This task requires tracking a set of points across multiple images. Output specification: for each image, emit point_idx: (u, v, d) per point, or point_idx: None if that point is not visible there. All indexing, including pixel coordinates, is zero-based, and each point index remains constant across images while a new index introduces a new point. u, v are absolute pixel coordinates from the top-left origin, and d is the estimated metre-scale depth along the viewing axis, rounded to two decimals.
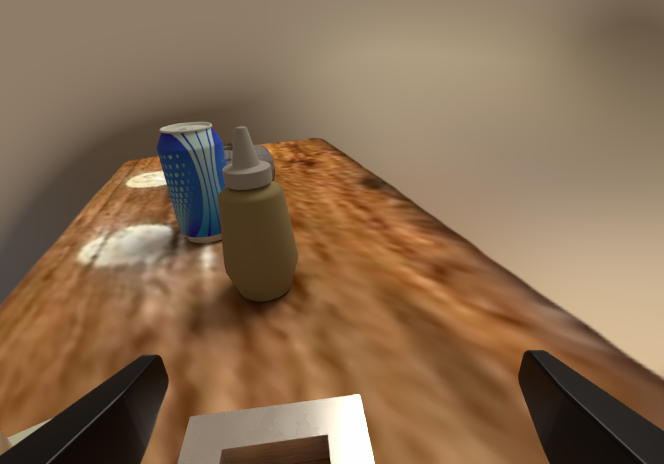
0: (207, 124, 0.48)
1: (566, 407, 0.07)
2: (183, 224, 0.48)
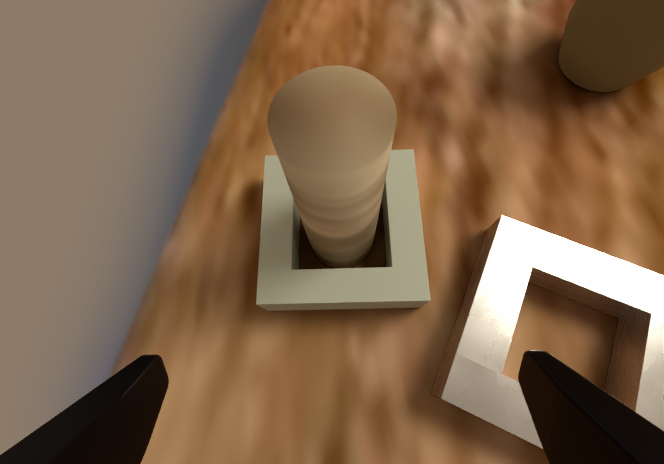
0: None
1: (566, 407, 0.07)
2: None
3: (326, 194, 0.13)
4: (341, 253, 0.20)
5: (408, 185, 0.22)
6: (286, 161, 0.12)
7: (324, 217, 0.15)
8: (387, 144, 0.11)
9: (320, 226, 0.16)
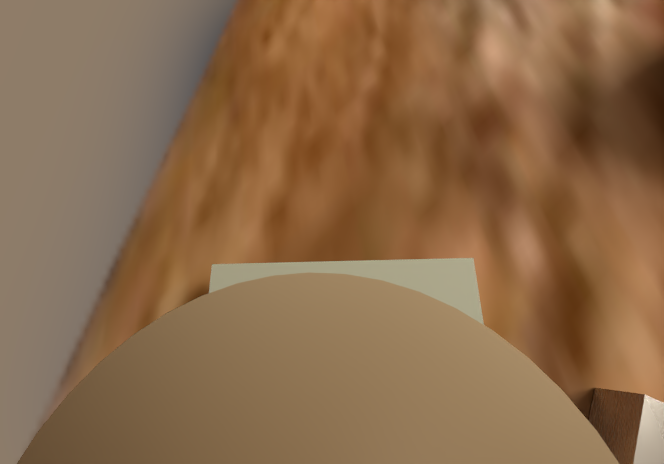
0: None
1: None
2: None
3: None
4: None
5: None
6: None
7: None
8: None
9: None
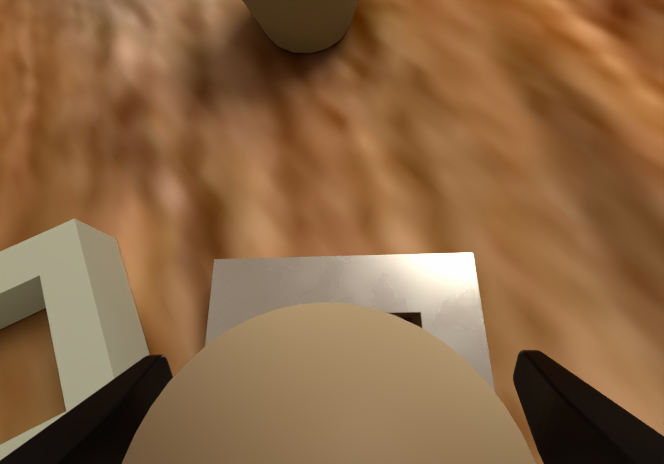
0: None
1: (559, 407, 0.07)
2: None
3: None
4: None
5: (73, 274, 0.15)
6: None
7: None
8: None
9: None
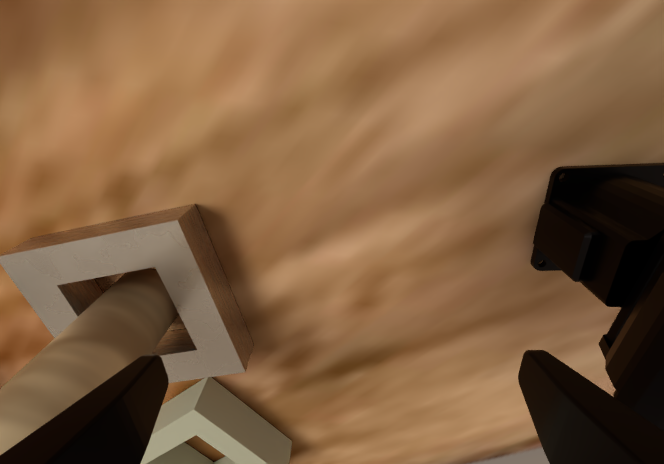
0: None
1: (566, 407, 0.07)
2: None
3: None
4: (153, 326, 0.20)
5: None
6: None
7: None
8: None
9: None
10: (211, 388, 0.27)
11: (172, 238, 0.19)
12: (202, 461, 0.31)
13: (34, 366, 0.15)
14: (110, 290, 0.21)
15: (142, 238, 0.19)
